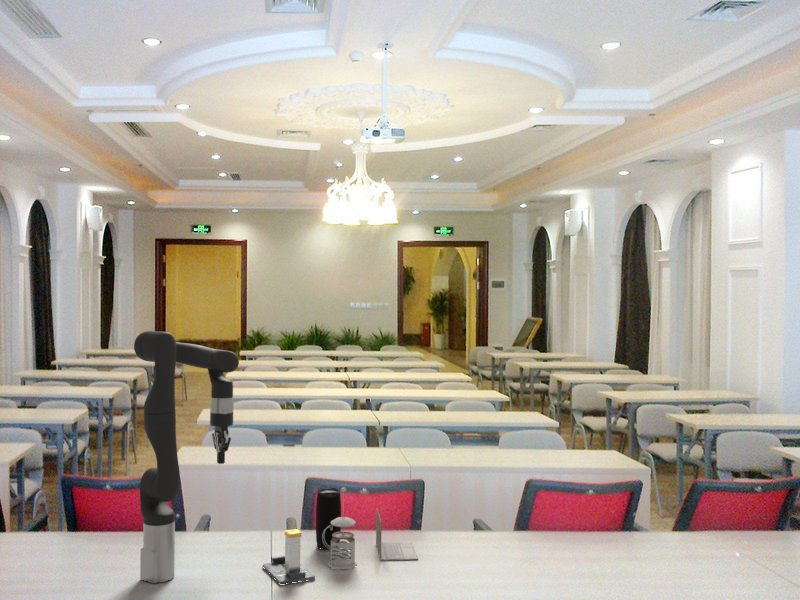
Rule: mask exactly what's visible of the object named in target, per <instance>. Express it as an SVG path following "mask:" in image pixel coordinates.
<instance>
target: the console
mask: <svg viewBox="0 0 800 600" xmlns="http://www.w3.org/2000/svg"><path fill="white" fill-rule="evenodd" d="M263 567H264V568H265V570H266V571H267V572H268V573H270V575H271V576H272V577H273V578H275V579H276V581H277V582H278V583H280V584H286V583H292V582H298V581H306V580H313V581H316V576H315V575H314V574H313V573H312V572H310V571H309V569H307V567H305V566H304V565H303V564H302V563H300V572H297V573H291V574H288V573H286V571H285V555H283V556H276V557H271V562H269V563H263V564H262V568H263ZM265 570H264V571H265ZM266 571H265V572H266ZM267 572H266V573H267ZM268 573H267V574H268ZM270 575H269V576H270ZM271 576H270V577H271ZM272 577H271V578H272ZM273 578H272V579H273ZM276 581H275V582H276ZM277 582H276V583H277ZM278 583H277V584H278Z"/></svg>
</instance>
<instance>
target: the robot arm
mask: <svg viewBox="0 0 800 600" xmlns="http://www.w3.org/2000/svg"><path fill="white" fill-rule="evenodd" d="M133 350H134V353H135V355H136V357H138V358H139V359H140V360H142V361H144V362H145V361H146V362H150V363H151V362H153V363H154V380H153V384H152V386H151V389H150V390H149V393H148V394H147V396H146V399H145V401H144V405H143V425H144V430H145V434H146V436H147V439H148V440H149V442H150V445H151V447H152V449H153V452H154V454H155V459H156V465H157V466H156V467H150V468H148V469H146V470H145V471H144V473H143V474H142V476H141V478H140V482H139V501H140V502H139V504H140V505H139V506H140V513H141V515H142V518H143V520H142V523H143V525H142V526H143V527H142V528H143V529H142V530H143V531H142V532H143V534H142V536H143V538H142V539H143V540H142V541H143V542H142V543H143V544H142V545H143V547H142V548H141V547H140V552H139V553H140V556H139V557H140V558H139V559H140V560H139V561H140V564H139V565H140V571H139V572H140V574H139V577H140V578H139V579H141V580H140V581H143V580H144V582H146V581H148V582H147V583H150V582H151V583H150V584H153V583H155V584H157V582H159V583H164V582H165V583H166V582H168V580H169V581H171V580H173V579H174V577H175V567H176V566H175V564H176V563H175V561H176V558H175V556H176V555H175V553H176V552H175V551H176V550H175V547H176V546H175V545H176V543H175V542H176V540H175V539H176V537H175V536H176V534H175V533H176V531H175V530H176V513H175V511H174V510H173V508H171V506H169V505H168V502H172V501H174V500H175V499H176V498H177V497H178V495H179V493H180V489H181V473H180V464H179V457H178V446H177V429H176V426H177V423H176V422H177V419H176V399H175V398H176V397H175V395H176V394H175V393H176V392H175V390H176V389H175V388H176V386H175V381H176V363H177V364H178V363H179V364H181V365H186V366H190V367H195V368H200V369H205V370H206V369H207V373H208V375H209V380H210V383H211V384H210V385H211V396H210V399H211V400H210V411H209V414H210V415H209V425H210V426H212V427H214V431H213V432H212V434H211V437H212V441H213V442H212V443H213V445H214V450H215V451H216V463H217V464H219V465H223V464H226V462H225V461H226V452H228V450H229V447H230V444H231V441H232V437H230V432H229V428H228V427H231V426H233V425H234V382H233V381H232V380H230V379H227V378H226V377H225V373H232V372H234V371H236V370H237V368H238V367H239V366H240V365H239V363H240V360H239V357H238V355H237V354H236V353H235V352H233V351H232V350H231V351H230V350H223V349H215V348H212V347H208V346H204V345H201V344H200V345H199V344H194V343H187V342H178V341H176V339H175V336H174V335H173V334H172V333H171V332H167V331H160V330H159V331H158V330H157V331H156V330H155V331H154V330H147V331H142V332H141V333H139V335H137V336H136V338H135V340H134V343H133ZM172 578H173V579H172Z"/></svg>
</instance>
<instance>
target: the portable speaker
mask: <svg viewBox="0 0 800 600" xmlns="http://www.w3.org/2000/svg"><path fill="white" fill-rule="evenodd" d="M316 493H317V494H316V504H315V538H316V539H315V540H316V548H317V547H318V548H317V549H319V548H321V549H320V550H323V549H324V548H327V547H328V548H330V549H331V541H332V538H333V537H332V534H333V533H335V532H342V527H336V526H333V525H332V524H331V521H332V520H334V519H336V518H338V517H342V501H341V500H342V499H341V488H338V487H331V488H323V487H321V488H318V489H317V492H316ZM330 525H332V526H333V529H332V526H330ZM328 526H330V527H331V529H332V530H330V527H329V528H327V527H328ZM326 528H327V529H326ZM325 529H326V531H325V533H323V531H324V530H325ZM322 534H323V541H322ZM324 538H325V541H326V543H327V544H328V545H329V546H330V547H329V546H327V544H326V543H325V541H324ZM323 542H324V544H325V545H326V546H325V545H324V544H323ZM338 542H341V540H338V541H337V543H338ZM337 547H338V546H337Z"/></svg>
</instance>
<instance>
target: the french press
mask: <svg viewBox="0 0 800 600" xmlns="http://www.w3.org/2000/svg"><path fill="white" fill-rule="evenodd" d="M340 492H342V493H343V494H342V516H341V517H338V518H336V519H334V520H332V521H331V524H332V525H333V526H336V527H341V528H349V527H353V526H355V525H356V522H357V521H355V520H354V519H353V518H351V517H348V516H344V513H345V512H344V511H345V510H344V508H345V507H344V505H345V503H344V502H345V492H347V488H346V487H341V488H340ZM332 525H330V526H332ZM330 526H328V527H327V528H329V527H330ZM333 526H332V529H333ZM327 528H326V529H327ZM326 529H325V530H324V531H323V533H325V531H326ZM332 529H331V527H330V530H332ZM354 536H355V534H354V533H353V532H350V531H344V530H341V532H335V533H333V534H332V537H333V538H332V541H331V548H329V547H330V546H329V545H328V544H327V543H326V541H325V538H324V541H325V543H326V544H327V546H329V547H326V548H327V549H328V550H329V556H330V557H329V562H328V563H327V565H328V566H329V567H331V568H333V569H332V570H335V569H338V570H337V571H340V570H339V569H349V570H352V569H351V568H353V569H355V568H356V567H355V566H357V564H358V563H357V561H356V559H355V558H356V557H355V556H356V555H355V554H356V550H355V549H356V547H355V546H356V539H355V538H354ZM338 540H340V542H338V543H337V541H338ZM344 540H346V541H344ZM322 541H323V534H322ZM323 544H324V542H323ZM324 545H325V544H324ZM325 546H326V545H325ZM337 546H338V547H337ZM328 566H327V567H328ZM329 567H328V568H329ZM354 567H355V568H354ZM357 567H358V566H357ZM331 568H330V569H331Z"/></svg>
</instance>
